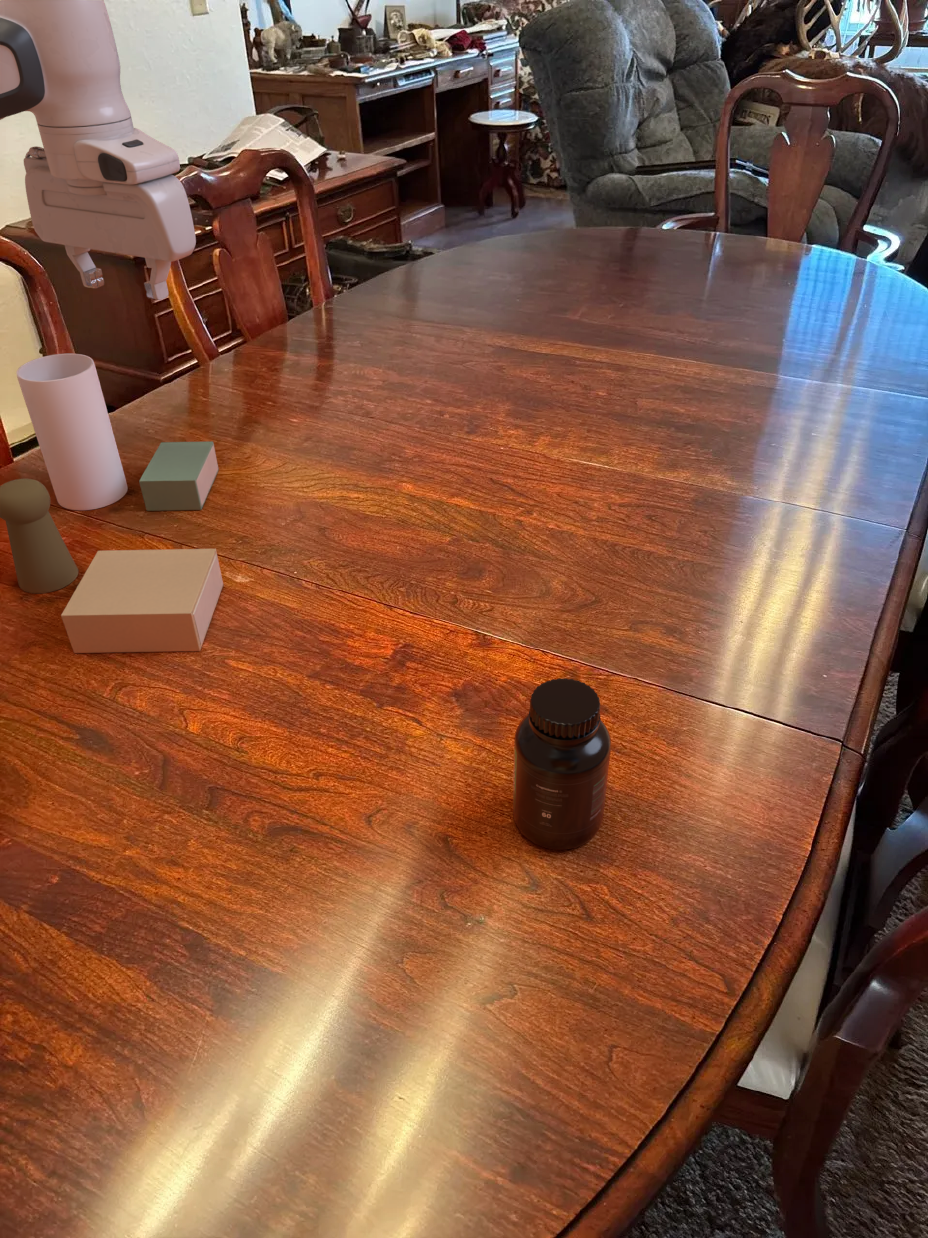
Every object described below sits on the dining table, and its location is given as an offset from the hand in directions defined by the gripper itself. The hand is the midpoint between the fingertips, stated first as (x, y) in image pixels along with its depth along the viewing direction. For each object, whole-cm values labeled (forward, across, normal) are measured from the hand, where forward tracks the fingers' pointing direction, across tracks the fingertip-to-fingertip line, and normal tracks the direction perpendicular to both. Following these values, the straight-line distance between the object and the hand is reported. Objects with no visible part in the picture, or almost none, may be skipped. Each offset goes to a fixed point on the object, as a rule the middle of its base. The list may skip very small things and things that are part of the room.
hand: (126, 292), depth 100 cm
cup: (+23, -6, -7) cm, 25 cm away
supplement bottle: (+23, +64, -27) cm, 74 cm away
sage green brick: (+23, +3, -1) cm, 23 cm away
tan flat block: (+23, +18, -22) cm, 37 cm away
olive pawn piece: (+23, +3, -22) cm, 32 cm away
